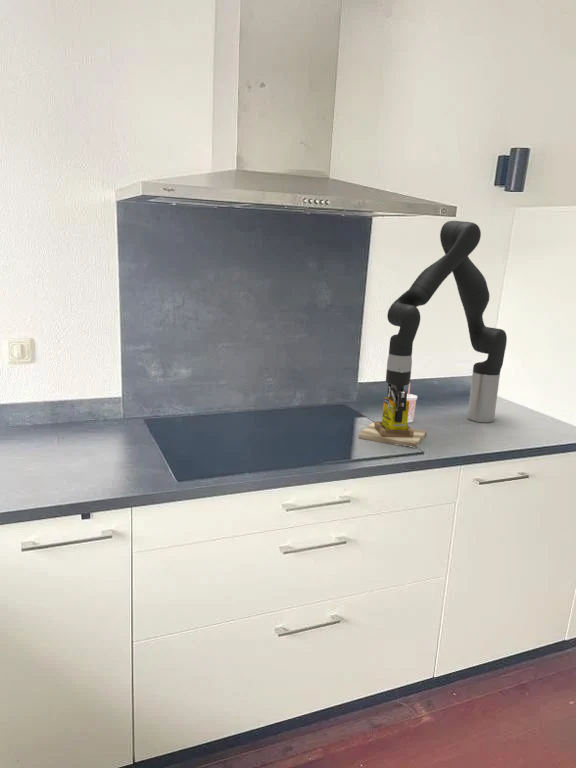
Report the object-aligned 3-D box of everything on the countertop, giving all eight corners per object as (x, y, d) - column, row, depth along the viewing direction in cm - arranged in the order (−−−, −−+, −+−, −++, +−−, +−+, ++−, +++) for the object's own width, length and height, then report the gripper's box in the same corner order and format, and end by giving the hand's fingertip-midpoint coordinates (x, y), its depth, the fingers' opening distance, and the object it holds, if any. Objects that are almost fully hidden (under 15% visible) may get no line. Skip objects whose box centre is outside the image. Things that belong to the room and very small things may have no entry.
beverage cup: (413, 424, 203) (417, 384, 200) (396, 421, 205) (399, 382, 202) (416, 419, 209) (419, 381, 206) (398, 417, 211) (402, 379, 208)
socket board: (372, 426, 199) (373, 416, 198) (426, 435, 191) (427, 425, 190) (358, 438, 185) (359, 427, 184) (415, 448, 178) (416, 437, 177)
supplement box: (380, 430, 190) (383, 397, 187) (396, 428, 192) (399, 396, 189) (390, 435, 184) (393, 402, 182) (406, 434, 186) (409, 400, 184)
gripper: (381, 363, 190) (377, 412, 193) (393, 373, 176) (388, 424, 180) (404, 364, 190) (400, 412, 194) (417, 373, 177) (412, 425, 180)
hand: (394, 418), depth 187 cm, fingers open, 8 cm apart
